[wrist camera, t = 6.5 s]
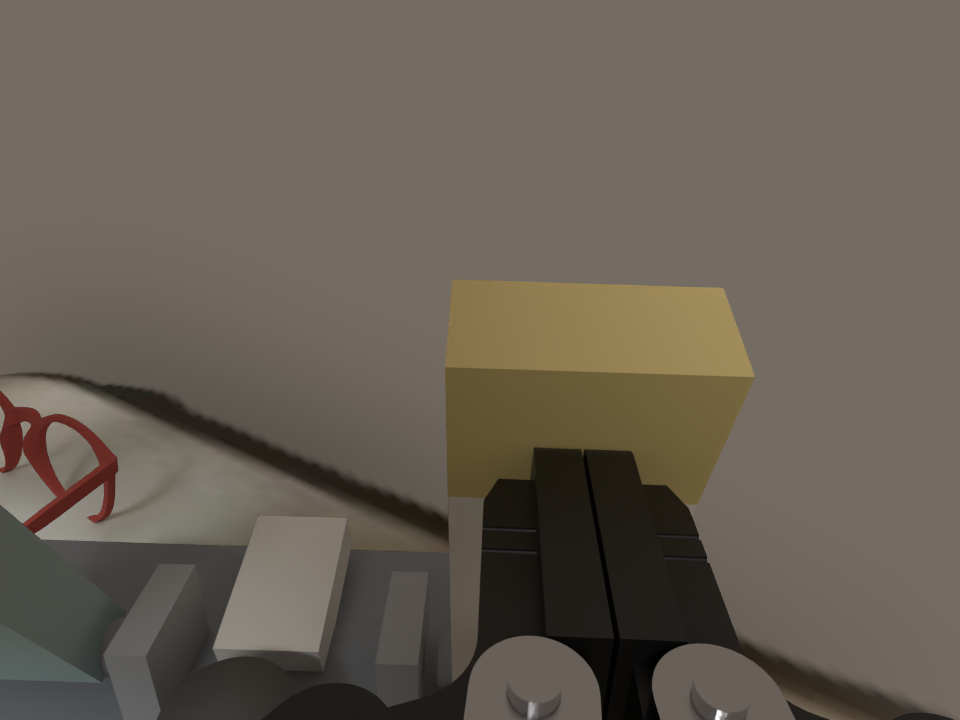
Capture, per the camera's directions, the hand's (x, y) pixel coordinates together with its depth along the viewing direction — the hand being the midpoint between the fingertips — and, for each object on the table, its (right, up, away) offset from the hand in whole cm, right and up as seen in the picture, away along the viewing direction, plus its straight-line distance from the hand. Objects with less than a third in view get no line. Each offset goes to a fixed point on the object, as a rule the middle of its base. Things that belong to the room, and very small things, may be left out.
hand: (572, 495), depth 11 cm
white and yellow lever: (0, -6, +7) cm, 9 cm away
